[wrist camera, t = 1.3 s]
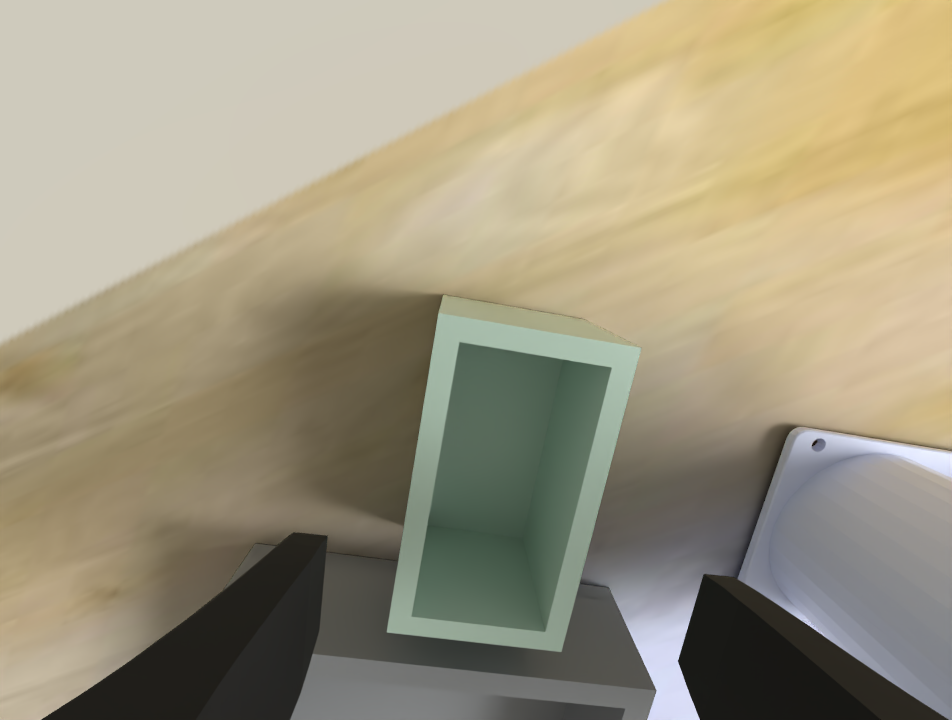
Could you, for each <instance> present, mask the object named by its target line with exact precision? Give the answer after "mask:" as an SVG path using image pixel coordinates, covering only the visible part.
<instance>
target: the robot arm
mask: <svg viewBox="0 0 952 720" xmlns="http://www.w3.org/2000/svg"><path fill="white" fill-rule="evenodd" d="M816 439H817V443H816V444H815V445H814V446H813V447H812V443H813V442H814V441H815V440H816ZM327 538H328V536H324V535H314V534H305V533H295V532H294V533H292V534H291V535H289V536H288V537H287V538H286V539H284V540H283V541H282V542H281V543H280V544H278V545H277V546H276V547H275V548H274V549H272V550H271V551H270V552H269V553H268V554H267V555H265V556H264V557H263V558H262V559H261V560H260V561H258V562H257V563H256V564H255V565H254V566H252V567H251V568H250V569H249V570H248V571H246V572H245V573H244V574H243V575H242V576H240V577H239V578H238V579H237V580H236V581H234V582H233V583H232V584H231V585H229V586H228V587H227V588H226V589H224V590H223V591H222V592H221V593H219V594H218V595H217V596H216V597H214V598H213V599H212V600H211V601H209V602H208V603H207V604H206V605H204V606H203V607H202V608H201V609H199V610H198V611H197V612H196V613H194V614H193V615H192V616H190V617H189V618H188V619H186V620H185V621H184V622H182V623H181V624H180V625H178V626H177V627H176V628H174V629H173V630H172V631H170V632H169V633H167V634H166V635H165V636H163V637H162V638H161V639H159V640H158V641H157V642H155V643H154V644H152V645H151V646H150V647H148V648H147V649H146V650H144V651H143V652H142V653H140V654H139V655H137V656H136V657H135V658H133V659H132V660H131V661H129V662H128V663H126V664H125V665H123V666H122V667H121V668H119V669H118V670H116V671H115V672H113V673H112V674H110V675H109V676H107V677H106V678H105V679H103V680H102V681H100V682H99V683H97V684H96V685H94V686H93V687H91V688H90V689H88V690H87V691H85V692H84V693H82V694H81V695H79V696H78V697H76V698H74V699H73V700H71V701H70V702H68V703H67V704H65V705H63V706H62V707H60V708H59V709H57V710H56V711H54V712H52V713H51V714H49V715H48V716H46V717H45V718H43V719H42V720H290V719H291V716H292V714H293V711H294V709H295V706H296V704H297V701H298V699H299V696H300V694H301V691H302V688H303V684H304V681H305V678H306V674H307V671H308V668H309V665H310V661H311V658H312V654H313V651H314V647H315V644H316V641H317V637H318V634H319V629H320V618H321V606H322V595H323V584H324V572H325V561H326V549H327ZM802 621H807V622H811V623H812V624H813V625H814V626H815V627H816V628H817V629H818V630H819V631H820V632H821V634H822V635H821V634H820V633H818V632H817V631H816V630H814V629H813V628H811V627H810V626H808V625H807V624H805V623H804V622H802ZM678 662H679V665H680V668H681V671H682V674H683V676H684V679H685V682H686V685H687V688H688V690H689V693H690V696H691V698H692V701H693V703H694V706H695V708H696V711H697V713H698V716H699V718H700V720H952V451H948V450H942V449H936V448H930V447H924V446H918V445H911V444H905V443H899V442H893V441H887V440H881V439H875V438H868V437H862V436H856V435H850V434H844V433H838V432H831V431H825V430H819V429H813V428H807V427H798V428H795V429H793V430H792V431H791V432H790V433H789V435H788V436H787V439H786V442H785V445H784V447H783V450H782V453H781V456H780V459H779V462H778V465H777V467H776V470H775V473H774V476H773V479H772V482H771V485H770V487H769V490H768V493H767V496H766V499H765V502H764V505H763V508H762V510H761V513H760V516H759V519H758V522H757V525H756V528H755V530H754V533H753V536H752V539H751V542H750V545H749V548H748V551H747V553H746V556H745V559H744V562H743V565H742V568H741V571H740V573H739V576H738V579H736V578H734V577H728V576H718V575H708V574H704V575H703V578H702V582H701V585H700V589H699V592H698V595H697V599H696V602H695V606H694V609H693V612H692V616H691V619H690V623H689V626H688V629H687V633H686V636H685V639H684V643H683V646H682V650H681V653H680V656H679V660H678Z"/></svg>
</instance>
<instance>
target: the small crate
mask: <svg viewBox="0 0 952 720" xmlns="http://www.w3.org/2000/svg"><path fill="white" fill-rule="evenodd" d="M640 352H641V348H640V347H638V346H636V345H635V344H633V343H631V342H629V341H627V340H625V339H623V338H621V337H619V336H617V335H615V334H613V333H611V332H609V331H607V330H605V329H603V328H601V327H599V326H597V325H595V324H593V323H591V322H589V321H587V320H585V319H580V318H574V317H568V316H563V315H557V314H551V313H546V312H540V311H534V310H529V309H523V308H517V307H512V306H506V305H500V304H495V303H489V302H483V301H478V300H472V299H466V298H461V297H455V296H449V295H444V294H443V298H442V302H441V305H440V309H439V313H438V319H437V325H436V331H435V338H434V344H433V350H432V356H431V362H430V368H429V375H428V381H427V387H426V393H425V399H424V405H423V412H422V418H421V424H420V430H419V436H418V442H417V448H416V455H415V461H414V467H413V473H412V479H411V485H410V492H409V498H408V504H407V510H406V516H405V522H404V529H403V535H402V541H401V547H400V553H399V559H398V565H397V572H396V578H395V584H394V590H393V596H392V602H391V609H390V615H389V621H388V627H387V633H396V634H405V635H414V636H423V637H432V638H441V639H450V640H459V641H468V642H477V643H486V644H494V645H503V646H512V647H521V648H530V649H539V650H548V651H557V652H561V651H562V648H563V644H564V640H565V636H566V633H567V629H568V625H569V621H570V617H571V614H572V610H573V606H574V602H575V598H576V595H577V591H578V587H579V583H580V579H581V576H582V572H583V568H584V564H585V560H586V557H587V553H588V549H589V545H590V541H591V538H592V534H593V530H594V526H595V522H596V519H597V515H598V511H599V507H600V503H601V500H602V496H603V492H604V488H605V484H606V481H607V477H608V473H609V469H610V465H611V462H612V458H613V454H614V450H615V447H616V443H617V439H618V435H619V431H620V428H621V424H622V420H623V416H624V412H625V409H626V405H627V401H628V397H629V393H630V390H631V386H632V382H633V378H634V374H635V371H636V367H637V363H638V359H639V355H640Z"/></svg>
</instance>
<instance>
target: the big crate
mask: <svg viewBox="0 0 952 720" xmlns="http://www.w3.org/2000/svg"><path fill="white" fill-rule="evenodd" d="M275 547H276V546H273V545H265V544H257V543H255V545H254V546H253V547H252V549H251V550H250V552H249V553H248V555H247V556H246V558H245V559H244V561H243V562H242V563H241V565H240V566H239V568H238V569H237V571H236V572H235V574H234V575H233V577H232V578H231V579H230V581H229V582H228V584H227V585H226V587H225V588H224V589H226V588H227V587H228V586H229V585H231V584H232V583H233V582H234V581H236V580H237V579H238V578H239V577H240V576H242V575H243V574H244V573H245V572H246V571H248V570H249V569H250V568H251V567H252V566H254V565H255V564H256V563H257V562H258V561H260V560H261V559H262V558H263V557H264V556H265V555H267V554H268V553H269V552H270V551H271V550H272V549H274V548H275ZM397 565H398V561H392V560H384V559H376V558H368V557H360V556H352V555H344V554H336V553H328V552H326V561H325V572H324V584H323V595H322V606H321V618H320V629H319V634H318V637H317V641H316V644H315V647H314V651H313V654H312V658H311V661H310V665H309V668H308V671H307V674H306V678H305V681H304V684H303V688H302V691H301V694H300V696H299V699H298V701H297V704H296V706H295V709H294V711H293V714H292V716H291V719H290V720H647V718H648V715H649V712H650V709H651V706H652V703H653V700H654V697H655V694H656V689H655V686H654V684H653V682H652V680H651V678H650V676H649V673H648V671H647V669H646V667H645V665H644V663H643V660H642V658H641V656H640V654H639V652H638V650H637V648H636V645H635V643H634V641H633V639H632V637H631V635H630V632H629V630H628V628H627V626H626V624H625V622H624V619H623V617H622V615H621V613H620V611H619V609H618V606H617V604H616V602H615V600H614V598H613V596H612V594H611V591H610V589H609V588H607V587H599V586H591V585H583V584H579V587H578V591H577V595H576V598H575V602H574V606H573V610H572V614H571V617H570V621H569V625H568V629H567V633H566V636H565V640H564V644H563V648H562V651H561V652H557V651H548V650H539V649H530V648H521V647H512V646H503V645H494V644H486V643H477V642H468V641H459V640H450V639H441V638H432V637H423V636H414V635H405V634H396V633H387V627H388V621H389V615H390V609H391V602H392V596H393V590H394V584H395V578H396V572H397Z"/></svg>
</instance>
